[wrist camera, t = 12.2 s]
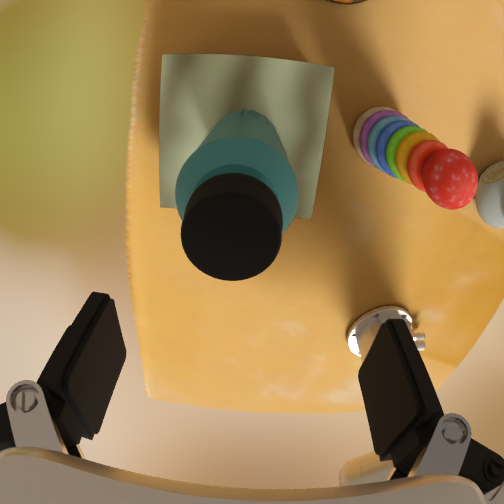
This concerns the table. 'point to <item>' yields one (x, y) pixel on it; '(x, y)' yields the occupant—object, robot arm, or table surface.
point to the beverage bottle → (236, 197)
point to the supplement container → (346, 1)
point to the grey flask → (491, 195)
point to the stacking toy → (415, 157)
